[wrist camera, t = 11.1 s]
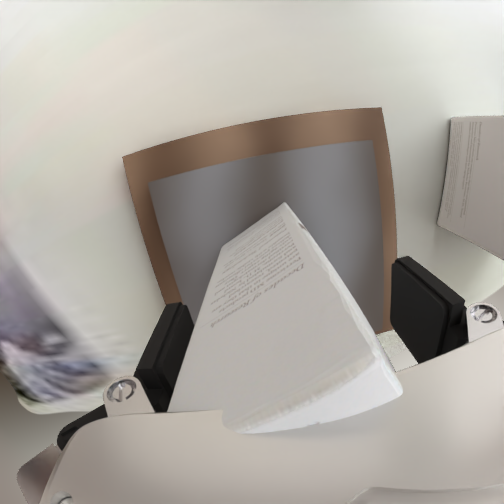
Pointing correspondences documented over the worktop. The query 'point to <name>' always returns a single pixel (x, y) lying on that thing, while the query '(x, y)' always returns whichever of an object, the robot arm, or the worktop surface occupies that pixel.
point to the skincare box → (281, 337)
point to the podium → (271, 199)
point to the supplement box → (475, 182)
